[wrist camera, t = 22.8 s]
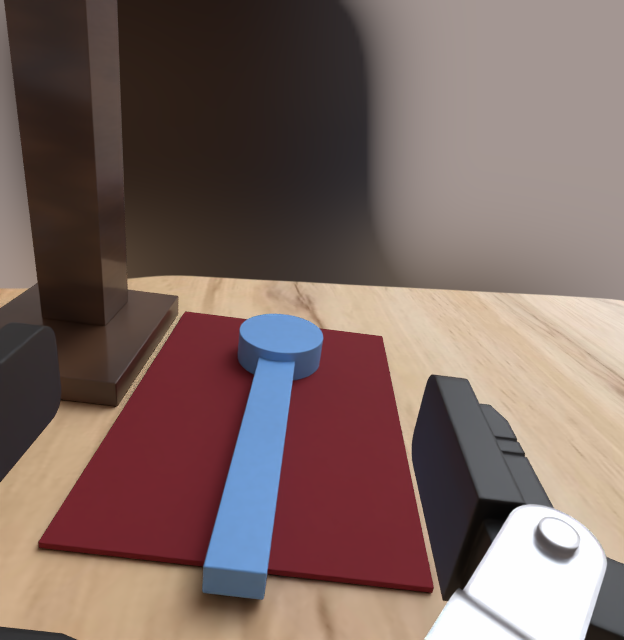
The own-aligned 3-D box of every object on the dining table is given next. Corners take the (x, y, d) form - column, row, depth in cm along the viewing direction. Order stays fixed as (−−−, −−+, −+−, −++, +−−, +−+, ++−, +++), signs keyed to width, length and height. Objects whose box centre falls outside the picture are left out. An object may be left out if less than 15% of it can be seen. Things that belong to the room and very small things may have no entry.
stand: (-78, 389, 26) (-343, -676, 13) (48, 294, 38) (-19, -310, 24) (113, 412, 26) (55, -610, 13) (180, 311, 38) (187, -279, 25)
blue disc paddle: (156, 588, 18) (155, 548, 17) (244, 334, 35) (246, 309, 35) (308, 606, 18) (315, 567, 17) (320, 344, 36) (324, 319, 35)
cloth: (38, 548, 19) (37, 542, 19) (185, 314, 38) (185, 311, 38) (432, 593, 19) (434, 587, 19) (381, 339, 38) (382, 336, 38)
